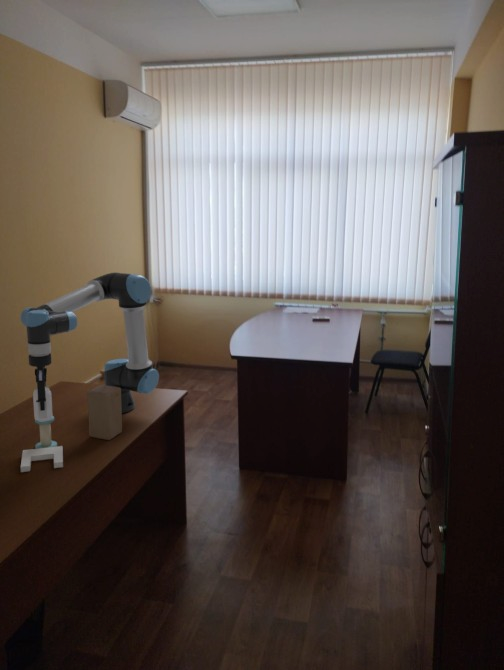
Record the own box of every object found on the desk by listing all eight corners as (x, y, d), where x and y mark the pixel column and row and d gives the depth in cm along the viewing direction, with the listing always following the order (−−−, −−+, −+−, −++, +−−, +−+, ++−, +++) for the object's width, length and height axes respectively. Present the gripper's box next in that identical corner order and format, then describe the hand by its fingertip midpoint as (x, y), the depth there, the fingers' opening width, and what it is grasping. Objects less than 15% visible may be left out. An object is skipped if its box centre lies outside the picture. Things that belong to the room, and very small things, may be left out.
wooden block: (123, 432, 225) (121, 386, 221) (109, 441, 216) (107, 394, 212) (102, 428, 228) (101, 383, 224) (88, 437, 219) (86, 390, 215)
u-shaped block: (62, 450, 207) (62, 445, 206) (62, 467, 194) (62, 461, 193) (23, 455, 202) (23, 450, 202) (20, 472, 189) (20, 466, 189)
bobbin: (57, 441, 214) (55, 413, 211) (57, 450, 207) (55, 421, 204) (35, 444, 212) (33, 415, 209) (34, 452, 204) (32, 423, 202)
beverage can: (42, 424, 193) (40, 392, 190) (30, 420, 196) (28, 389, 193) (56, 418, 198) (54, 387, 196) (45, 415, 201) (43, 384, 199)
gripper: (29, 347, 199) (33, 406, 204) (27, 361, 182) (31, 425, 187) (51, 346, 202) (54, 404, 207) (50, 360, 184) (54, 423, 189)
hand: (43, 414), depth 197 cm, fingers closed on beverage can, 6 cm apart
